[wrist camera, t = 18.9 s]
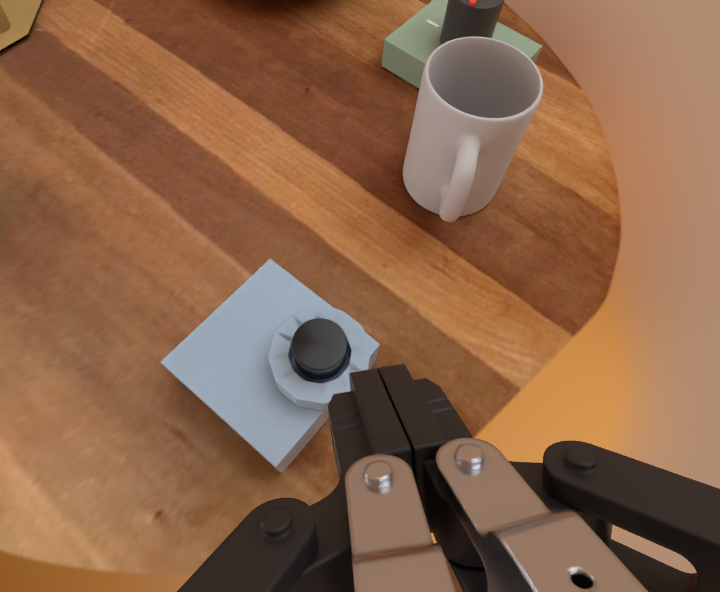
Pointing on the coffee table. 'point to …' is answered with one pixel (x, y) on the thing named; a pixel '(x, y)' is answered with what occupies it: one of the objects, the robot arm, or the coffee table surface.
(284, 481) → the coffee table surface
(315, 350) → the button
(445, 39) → the dial
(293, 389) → the button box
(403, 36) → the panel
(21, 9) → the hourglass
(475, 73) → the mug
